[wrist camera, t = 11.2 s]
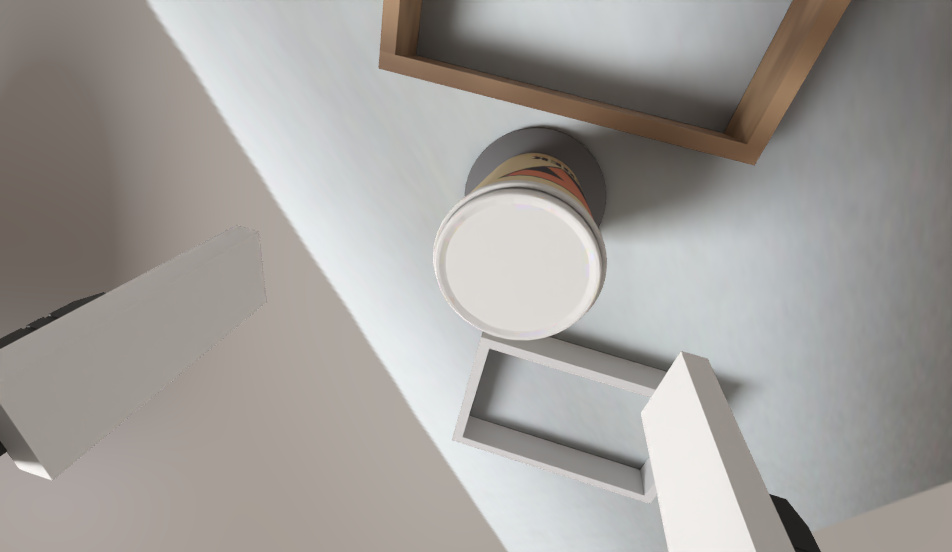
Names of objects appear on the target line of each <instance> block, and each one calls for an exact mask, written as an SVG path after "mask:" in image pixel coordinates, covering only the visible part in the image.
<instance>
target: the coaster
mask: <svg viewBox="0 0 952 552" xmlns="http://www.w3.org/2000/svg"><path fill="white" fill-rule="evenodd" d="M525 153H541V154H546V155H550V156H552V157H554V158H557V159H558V160H560V161H562V162H563V163H564V164H565V165H567V166H568V167H569V168H570V169H571V171H572V172H573V173H574V175H575V176H576V178H577V179H578V181H579V183H580V186H581V188H582V190H583V193H584V195H585V198H586V201H587V203H588V206H589V209H590V211H591V214H592V217H593V220H594V222H595V223H596V225H597V227H599V225H600V223H601V220H602V217H603V214H604V210H605V204H606V190H605V183H604V179H603V175H602V172H601V170H600V168H599V165H598V163H597V162H596V160H595V158H594V157H593V156H592V154H591V153H590V152H589V151H588V149H586V148H585V147H584V146H583V145H582V144H581V143H580V142H578V141H577V140H576V139H574V138H573V137H571V136H569V135H567V134H565V133H562V132H559V131H556V130H552V129H547V128H526V129H521V130H517V131H514V132H511V133H508V134H506V135H504V136H502V137H500V138H499V139H497V140H496V141H494V142H493V143H492V144H490V145H489V146H488V147H487V148H486V149H485V150H484V151H483V152H482V153H481V155H480V156H479V157H478V158H477V160H476V161H475V163H474V165H473V166H472V168H471V171H470V173H469V176H468V179H467V183H466V188H465V196H466V195H468V194H470V193H471V192H472V191H473V190H474V189H475V188H476V187H477V186H478V185H479V184H480V183H481V182H482V181H483V180H484V179H485V178H486V177H487V176H488V175H489V174H491V173H492V172H493V171H494V170H495V169H496V168H497V167H498V166H499V165H501V164H502V163H503V162H505V161H506V160H508V159H510V158H512V157H514V156H517V155H521V154H525Z"/></svg>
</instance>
